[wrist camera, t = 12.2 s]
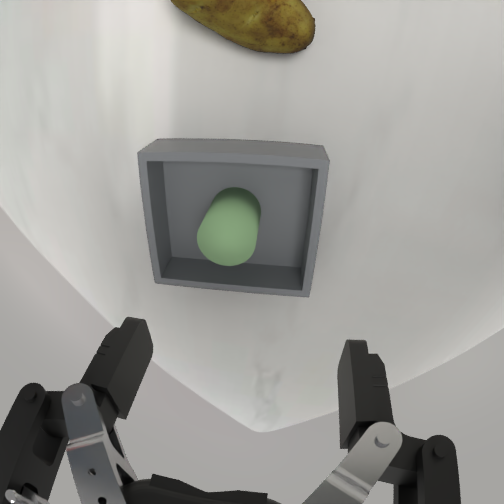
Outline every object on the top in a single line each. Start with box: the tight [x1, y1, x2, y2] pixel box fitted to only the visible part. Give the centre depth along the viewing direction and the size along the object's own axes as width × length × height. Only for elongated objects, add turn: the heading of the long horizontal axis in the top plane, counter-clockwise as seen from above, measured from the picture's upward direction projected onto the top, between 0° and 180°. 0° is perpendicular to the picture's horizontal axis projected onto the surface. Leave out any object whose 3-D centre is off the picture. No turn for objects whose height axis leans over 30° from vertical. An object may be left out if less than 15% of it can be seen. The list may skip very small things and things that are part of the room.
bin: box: [137, 139, 330, 297], centre depth 31 cm, size 16×14×5 cm
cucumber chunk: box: [197, 187, 261, 266], centre depth 30 cm, size 5×5×6 cm
